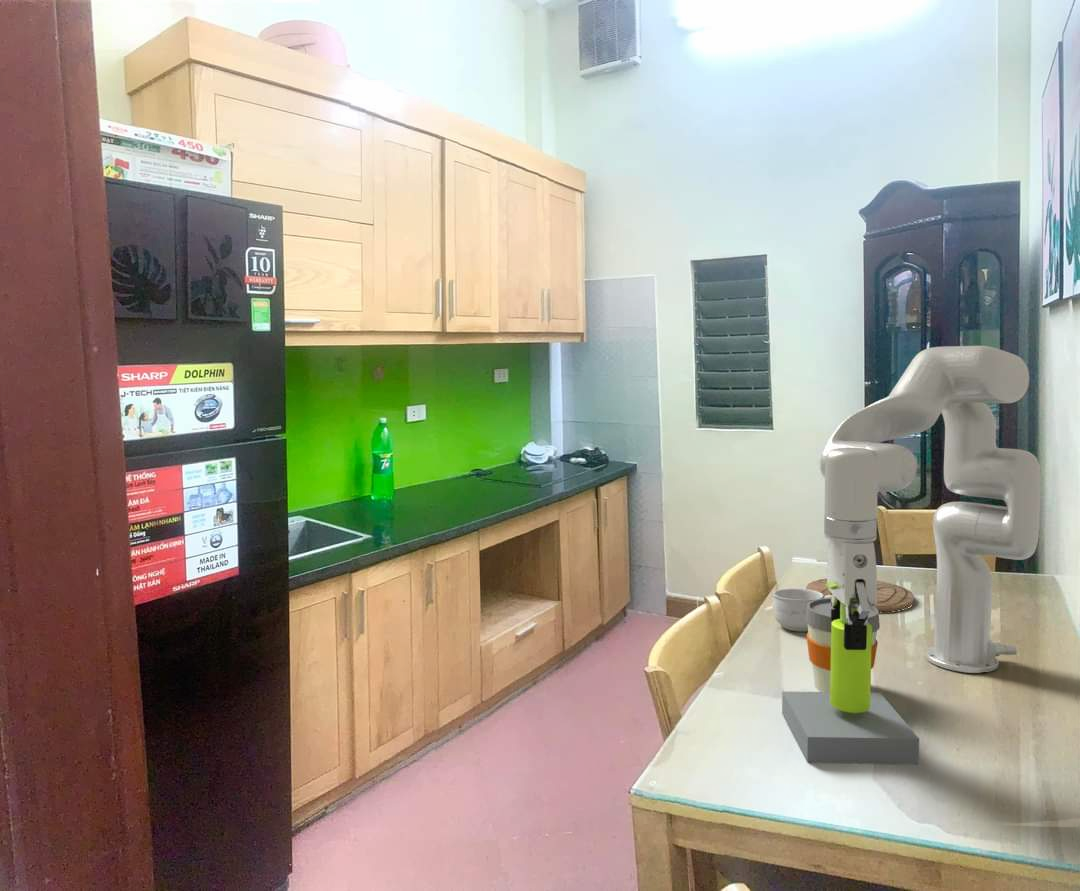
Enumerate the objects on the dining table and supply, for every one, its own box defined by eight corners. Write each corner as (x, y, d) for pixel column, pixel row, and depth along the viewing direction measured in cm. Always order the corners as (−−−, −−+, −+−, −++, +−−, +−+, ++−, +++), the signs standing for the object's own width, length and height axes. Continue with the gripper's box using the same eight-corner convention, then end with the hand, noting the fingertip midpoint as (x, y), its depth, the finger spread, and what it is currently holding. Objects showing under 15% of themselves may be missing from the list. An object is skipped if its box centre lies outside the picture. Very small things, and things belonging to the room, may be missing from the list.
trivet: (793, 603, 191) (793, 596, 191) (821, 579, 212) (821, 572, 211) (903, 621, 177) (903, 613, 177) (922, 593, 197) (922, 586, 197)
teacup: (770, 632, 171) (770, 597, 170) (775, 617, 181) (775, 584, 180) (838, 640, 165) (838, 603, 164) (839, 623, 175) (839, 589, 174)
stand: (879, 715, 130) (879, 692, 130) (918, 764, 114) (919, 738, 114) (782, 714, 131) (782, 691, 131) (807, 762, 116) (807, 736, 115)
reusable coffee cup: (852, 671, 149) (854, 595, 147) (893, 699, 136) (895, 616, 135) (791, 677, 146) (792, 600, 145) (827, 706, 134) (828, 622, 133)
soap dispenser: (817, 697, 125) (819, 577, 123) (858, 695, 126) (861, 575, 123) (834, 714, 119) (836, 588, 117) (877, 711, 120) (880, 586, 118)
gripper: (896, 541, 111) (893, 662, 112) (856, 516, 128) (854, 622, 130) (842, 541, 111) (840, 662, 113) (810, 517, 128) (808, 622, 130)
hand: (847, 640), depth 121 cm, fingers closed on soap dispenser, 5 cm apart
